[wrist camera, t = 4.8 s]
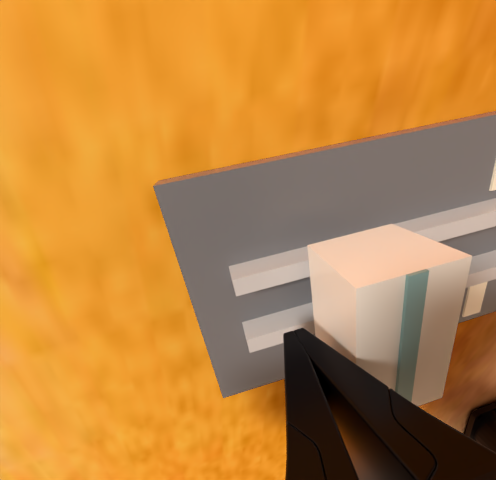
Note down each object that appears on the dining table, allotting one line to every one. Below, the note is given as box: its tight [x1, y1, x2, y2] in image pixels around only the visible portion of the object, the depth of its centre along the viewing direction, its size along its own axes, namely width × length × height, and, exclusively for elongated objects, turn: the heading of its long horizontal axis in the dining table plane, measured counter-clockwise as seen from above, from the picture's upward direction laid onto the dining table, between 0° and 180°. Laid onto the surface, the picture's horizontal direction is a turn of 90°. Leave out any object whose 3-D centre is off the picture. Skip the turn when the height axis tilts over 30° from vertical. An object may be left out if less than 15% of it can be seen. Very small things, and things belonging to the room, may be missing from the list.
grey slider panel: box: [153, 111, 496, 398], centre depth 13 cm, size 12×22×3 cm, turn 101°
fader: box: [307, 224, 472, 406], centre depth 10 cm, size 6×4×5 cm, turn 11°
